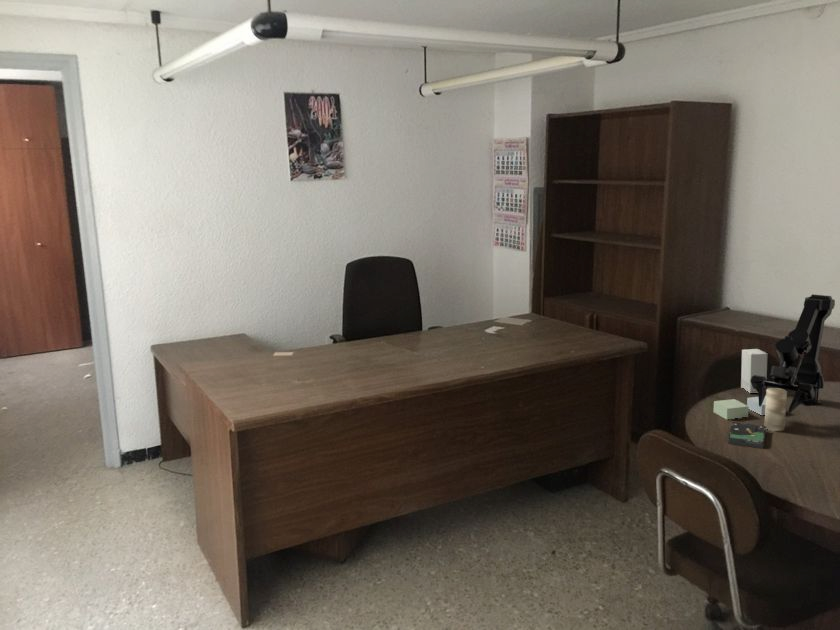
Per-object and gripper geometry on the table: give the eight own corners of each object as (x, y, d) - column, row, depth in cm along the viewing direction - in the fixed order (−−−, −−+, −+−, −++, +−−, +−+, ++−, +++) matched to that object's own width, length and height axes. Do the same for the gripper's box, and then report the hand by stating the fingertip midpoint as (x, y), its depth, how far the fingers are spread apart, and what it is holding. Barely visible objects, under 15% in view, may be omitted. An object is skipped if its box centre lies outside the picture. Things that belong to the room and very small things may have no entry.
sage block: (734, 409, 251) (734, 399, 251) (748, 417, 244) (748, 406, 243) (713, 412, 250) (713, 401, 249) (726, 419, 242) (727, 408, 242)
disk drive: (731, 429, 236) (727, 445, 223) (731, 421, 235) (728, 436, 222) (765, 433, 231) (764, 449, 218) (766, 425, 230) (764, 441, 217)
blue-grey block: (767, 406, 253) (767, 395, 253) (782, 413, 246) (782, 402, 245) (746, 408, 252) (747, 397, 251) (761, 416, 244) (761, 405, 244)
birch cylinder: (776, 424, 237) (778, 387, 234) (788, 430, 231) (791, 392, 228) (760, 425, 236) (762, 388, 233) (771, 432, 230) (774, 394, 227)
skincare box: (766, 393, 267) (768, 353, 263) (748, 394, 267) (751, 354, 264) (756, 386, 275) (758, 348, 272) (739, 387, 275) (741, 348, 272)
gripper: (754, 351, 238) (739, 391, 233) (814, 360, 225) (800, 402, 220) (761, 369, 245) (747, 407, 240) (820, 378, 232) (806, 419, 227)
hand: (774, 409), depth 231 cm, fingers open, 9 cm apart
